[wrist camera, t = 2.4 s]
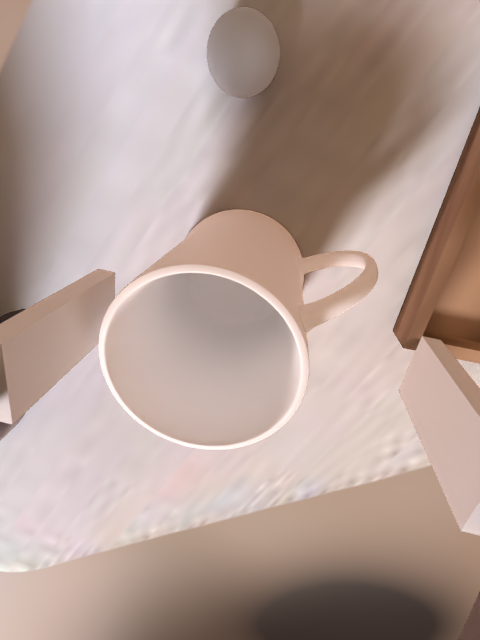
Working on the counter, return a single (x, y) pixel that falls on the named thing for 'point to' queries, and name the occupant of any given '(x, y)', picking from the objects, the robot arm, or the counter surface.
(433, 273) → the tray
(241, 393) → the mug
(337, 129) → the counter surface
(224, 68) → the ball
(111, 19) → the counter surface
